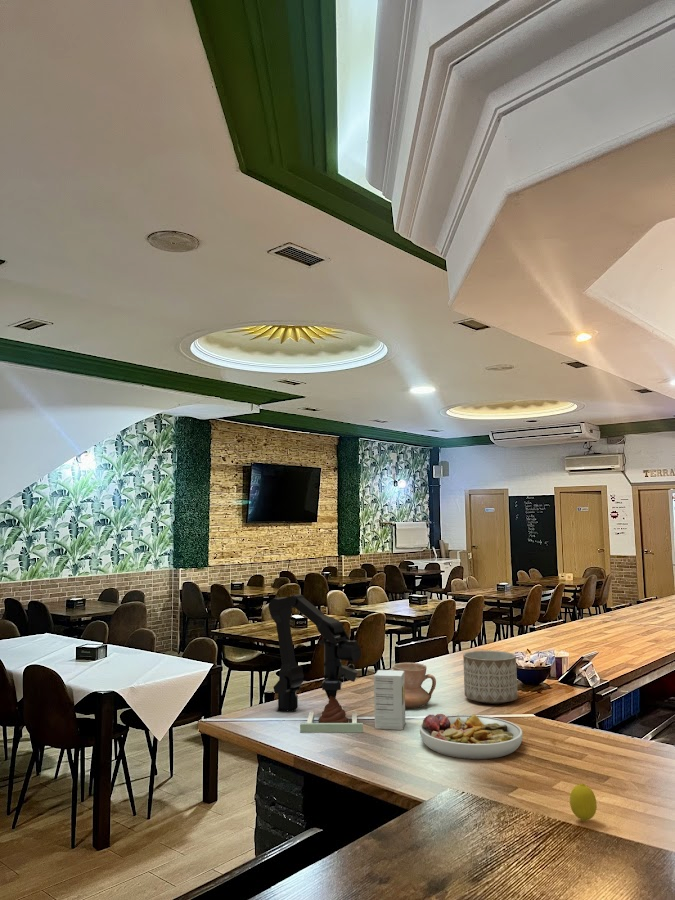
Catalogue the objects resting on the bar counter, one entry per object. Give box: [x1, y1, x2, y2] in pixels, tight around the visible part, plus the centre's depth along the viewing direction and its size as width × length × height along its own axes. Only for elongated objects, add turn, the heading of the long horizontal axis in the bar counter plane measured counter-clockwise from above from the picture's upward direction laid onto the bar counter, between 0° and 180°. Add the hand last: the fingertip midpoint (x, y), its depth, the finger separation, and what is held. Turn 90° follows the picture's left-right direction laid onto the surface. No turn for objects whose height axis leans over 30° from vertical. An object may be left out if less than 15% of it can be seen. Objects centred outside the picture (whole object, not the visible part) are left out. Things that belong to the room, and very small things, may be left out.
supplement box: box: [373, 669, 406, 731], centre depth 223 cm, size 10×9×17 cm
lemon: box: [569, 782, 598, 823], centre depth 149 cm, size 6×6×8 cm
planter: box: [462, 650, 519, 705], centre depth 254 cm, size 19×19×16 cm
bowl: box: [419, 713, 523, 760], centre depth 202 cm, size 30×30×8 cm
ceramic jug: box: [392, 662, 437, 709], centre depth 247 cm, size 18×14×14 cm
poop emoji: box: [317, 696, 349, 723], centre depth 224 cm, size 10×8×9 cm
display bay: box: [299, 711, 364, 734], centre depth 223 cm, size 20×14×2 cm
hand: (332, 705), depth 231 cm, fingers closed
